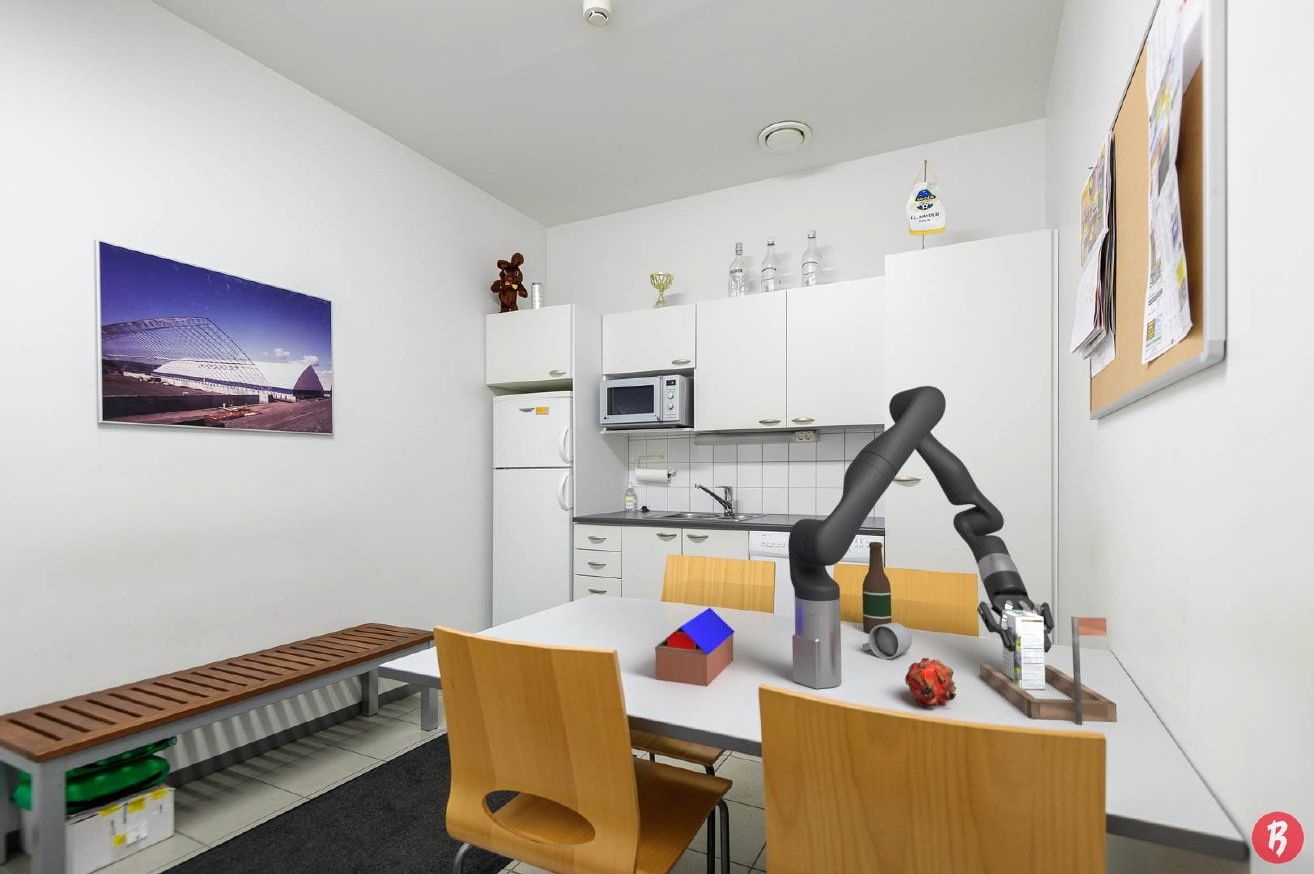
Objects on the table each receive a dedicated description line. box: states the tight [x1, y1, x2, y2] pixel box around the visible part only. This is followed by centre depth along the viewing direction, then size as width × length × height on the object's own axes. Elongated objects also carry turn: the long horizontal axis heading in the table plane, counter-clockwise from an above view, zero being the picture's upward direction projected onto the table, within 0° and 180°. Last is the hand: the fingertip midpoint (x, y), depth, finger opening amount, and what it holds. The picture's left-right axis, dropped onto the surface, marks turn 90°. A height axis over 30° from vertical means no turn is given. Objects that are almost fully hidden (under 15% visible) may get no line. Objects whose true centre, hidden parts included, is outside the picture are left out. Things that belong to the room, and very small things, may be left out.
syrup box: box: [1002, 610, 1046, 690], centre depth 128 cm, size 6×6×14 cm
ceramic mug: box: [862, 622, 913, 660], centre depth 150 cm, size 11×8×8 cm
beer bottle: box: [862, 541, 893, 635], centre depth 170 cm, size 8×8×24 cm
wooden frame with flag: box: [979, 616, 1118, 726], centre depth 120 cm, size 24×14×18 cm, turn 174°
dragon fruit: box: [904, 657, 957, 708], centre depth 118 cm, size 8×8×12 cm
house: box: [654, 607, 735, 687], centre depth 139 cm, size 12×20×12 cm, turn 157°
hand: (1029, 649), depth 125 cm, fingers closed on syrup box, 6 cm apart
